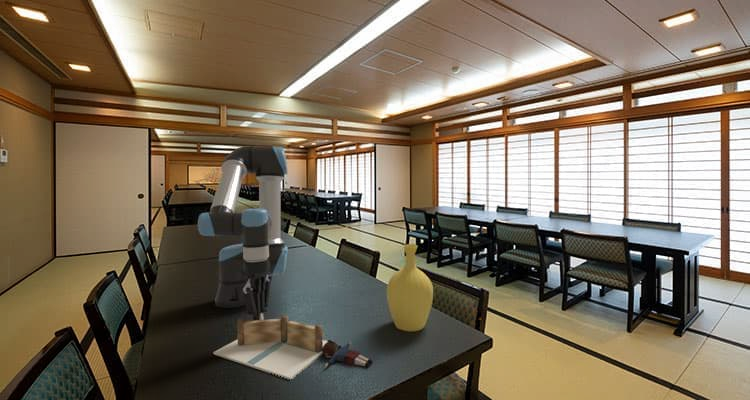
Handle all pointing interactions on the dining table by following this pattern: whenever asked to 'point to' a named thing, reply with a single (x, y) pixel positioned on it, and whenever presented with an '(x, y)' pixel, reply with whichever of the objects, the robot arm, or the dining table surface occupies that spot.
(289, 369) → the card
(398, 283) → the vase
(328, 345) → the toy
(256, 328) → the fence wing
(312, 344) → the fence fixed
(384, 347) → the dining table surface
